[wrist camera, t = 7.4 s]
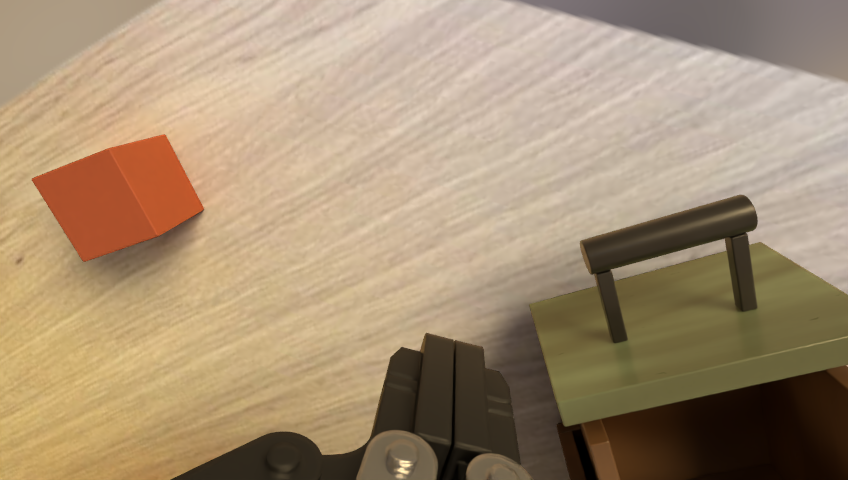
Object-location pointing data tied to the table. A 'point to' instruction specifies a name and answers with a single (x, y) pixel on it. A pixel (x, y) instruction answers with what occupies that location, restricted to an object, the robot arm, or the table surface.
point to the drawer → (701, 356)
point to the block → (119, 196)
